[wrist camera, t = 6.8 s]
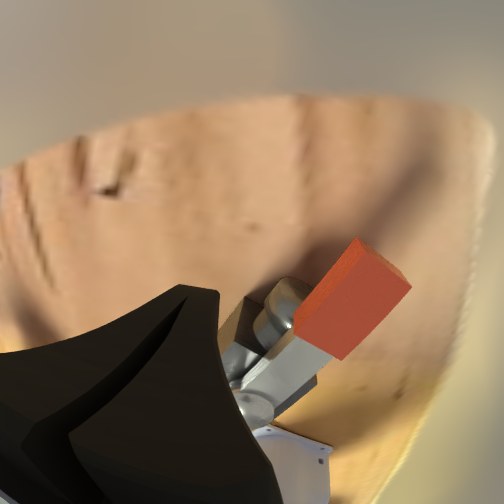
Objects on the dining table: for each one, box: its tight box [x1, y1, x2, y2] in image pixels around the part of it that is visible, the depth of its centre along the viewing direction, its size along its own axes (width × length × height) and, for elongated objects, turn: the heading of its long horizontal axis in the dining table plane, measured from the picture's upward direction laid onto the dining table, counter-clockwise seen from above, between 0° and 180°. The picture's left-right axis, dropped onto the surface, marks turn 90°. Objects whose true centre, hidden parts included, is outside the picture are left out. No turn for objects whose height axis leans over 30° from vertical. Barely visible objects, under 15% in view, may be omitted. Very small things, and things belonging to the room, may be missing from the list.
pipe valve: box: [217, 277, 317, 420], centre depth 20 cm, size 6×13×5 cm, turn 147°
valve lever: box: [229, 237, 412, 429], centre depth 15 cm, size 13×3×2 cm, turn 147°
